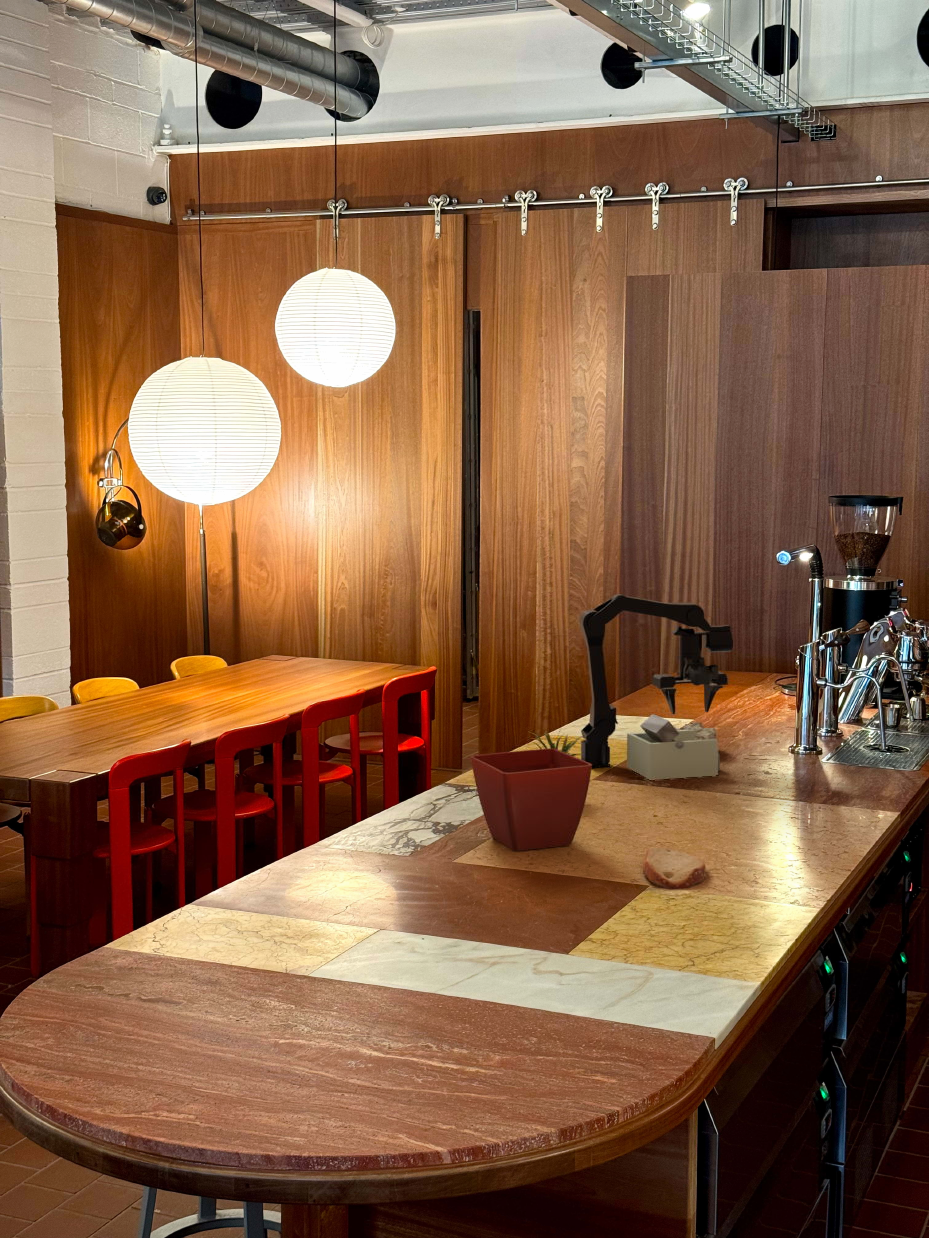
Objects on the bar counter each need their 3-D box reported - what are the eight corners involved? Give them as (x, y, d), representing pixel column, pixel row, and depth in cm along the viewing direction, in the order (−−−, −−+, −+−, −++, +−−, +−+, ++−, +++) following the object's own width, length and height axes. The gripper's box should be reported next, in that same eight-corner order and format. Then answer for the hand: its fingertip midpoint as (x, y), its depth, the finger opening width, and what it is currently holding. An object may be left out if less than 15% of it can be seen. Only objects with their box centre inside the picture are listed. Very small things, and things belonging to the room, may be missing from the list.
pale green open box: (650, 781, 326) (650, 743, 325) (626, 768, 341) (626, 731, 340) (718, 776, 331) (719, 738, 330) (691, 763, 346) (692, 727, 345)
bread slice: (660, 854, 265) (660, 835, 264) (736, 873, 252) (737, 854, 251) (599, 873, 253) (599, 853, 252) (676, 894, 239) (676, 873, 239)
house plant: (509, 800, 308) (509, 730, 306) (535, 788, 320) (535, 720, 318) (567, 807, 301) (567, 735, 299) (591, 794, 313) (591, 725, 311)
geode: (673, 779, 352) (729, 767, 353) (671, 749, 348) (727, 737, 348) (656, 744, 367) (709, 733, 368) (653, 715, 362) (707, 704, 363)
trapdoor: (657, 733, 327) (670, 721, 328) (638, 725, 339) (651, 713, 339) (695, 779, 331) (708, 767, 332) (675, 769, 343) (687, 757, 343)
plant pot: (469, 834, 279) (469, 754, 277) (554, 825, 286) (553, 747, 284) (504, 858, 261) (504, 773, 260) (593, 848, 268) (594, 764, 266)
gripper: (669, 658, 333) (669, 720, 335) (738, 654, 338) (737, 716, 340) (651, 652, 344) (651, 713, 346) (718, 649, 349) (718, 709, 350)
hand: (690, 713), depth 345 cm, fingers open, 9 cm apart
